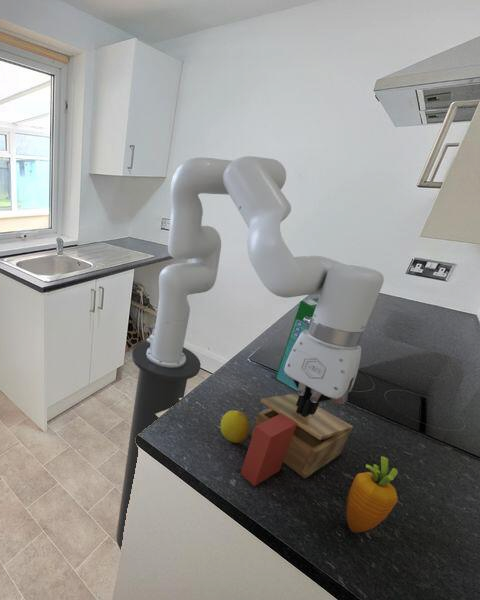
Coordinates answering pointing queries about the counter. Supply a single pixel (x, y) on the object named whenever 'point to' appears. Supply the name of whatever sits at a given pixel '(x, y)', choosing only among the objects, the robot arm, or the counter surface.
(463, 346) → the counter surface
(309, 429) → the wooden slab
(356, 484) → the carrot
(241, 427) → the lemon
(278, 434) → the brick
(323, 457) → the chest
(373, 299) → the robot arm
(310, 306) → the milk carton
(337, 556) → the counter surface
